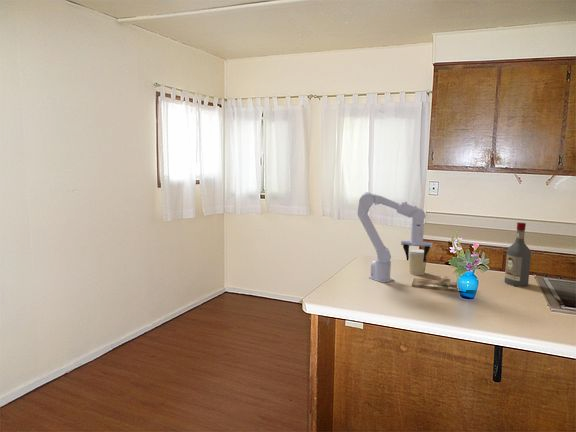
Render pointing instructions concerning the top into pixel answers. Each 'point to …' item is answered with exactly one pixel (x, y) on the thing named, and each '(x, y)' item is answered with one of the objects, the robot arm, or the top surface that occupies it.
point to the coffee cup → (417, 262)
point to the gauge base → (434, 284)
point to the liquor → (518, 260)
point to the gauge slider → (445, 280)
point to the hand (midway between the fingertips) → (415, 260)
